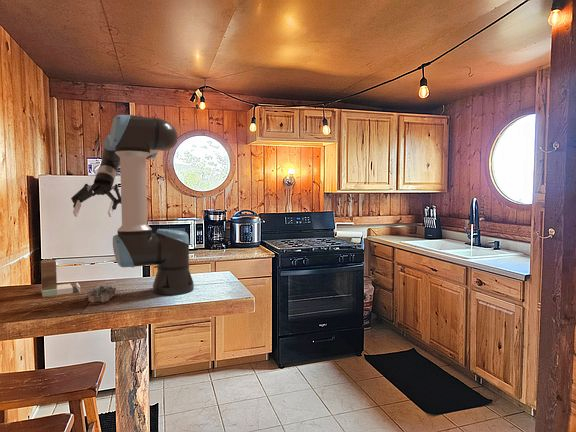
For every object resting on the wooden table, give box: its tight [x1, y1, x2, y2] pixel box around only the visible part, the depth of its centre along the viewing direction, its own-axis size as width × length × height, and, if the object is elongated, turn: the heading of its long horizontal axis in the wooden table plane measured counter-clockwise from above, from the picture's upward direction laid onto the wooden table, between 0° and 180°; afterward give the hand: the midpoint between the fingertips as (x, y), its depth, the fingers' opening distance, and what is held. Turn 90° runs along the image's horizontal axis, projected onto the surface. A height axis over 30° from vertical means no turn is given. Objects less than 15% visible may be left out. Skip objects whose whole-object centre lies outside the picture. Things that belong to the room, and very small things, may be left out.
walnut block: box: [40, 259, 58, 290], centre depth 144 cm, size 4×4×10 cm
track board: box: [40, 282, 81, 297], centre depth 146 cm, size 7×12×2 cm, turn 125°
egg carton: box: [86, 284, 117, 303], centre depth 140 cm, size 11×8×4 cm
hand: (92, 214), depth 161 cm, fingers open, 13 cm apart
